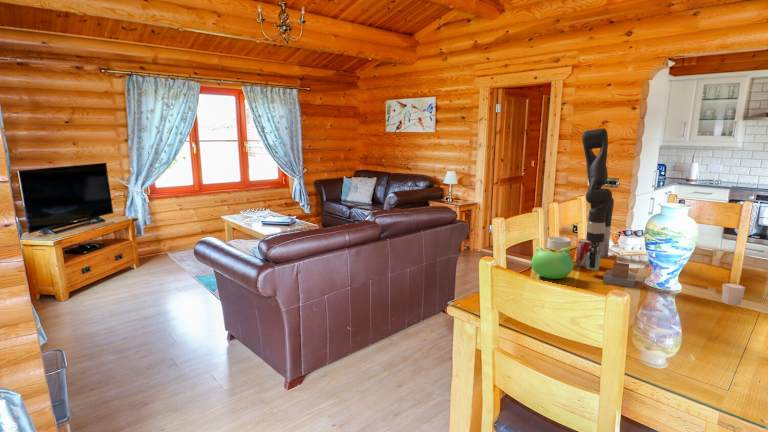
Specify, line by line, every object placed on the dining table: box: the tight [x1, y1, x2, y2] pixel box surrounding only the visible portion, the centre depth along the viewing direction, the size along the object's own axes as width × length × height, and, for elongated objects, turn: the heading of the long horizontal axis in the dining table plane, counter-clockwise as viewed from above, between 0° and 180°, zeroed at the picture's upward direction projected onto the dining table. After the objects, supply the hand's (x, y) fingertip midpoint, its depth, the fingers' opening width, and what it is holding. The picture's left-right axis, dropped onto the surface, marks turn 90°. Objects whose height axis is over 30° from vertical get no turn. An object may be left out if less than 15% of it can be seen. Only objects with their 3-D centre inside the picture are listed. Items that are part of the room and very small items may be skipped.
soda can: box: [575, 238, 591, 268], centre depth 213 cm, size 7×7×13 cm
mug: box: [546, 236, 572, 255], centre depth 218 cm, size 15×11×13 cm
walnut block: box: [611, 261, 630, 278], centre depth 188 cm, size 6×6×5 cm
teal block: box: [585, 253, 601, 271], centre depth 197 cm, size 5×5×7 cm
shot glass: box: [721, 282, 746, 306], centre depth 163 cm, size 7×7×7 cm
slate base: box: [602, 269, 637, 289], centre depth 188 cm, size 12×12×3 cm
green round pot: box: [530, 246, 574, 280], centre depth 193 cm, size 18×17×15 cm
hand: (592, 265), depth 197 cm, fingers closed on teal block, 5 cm apart
